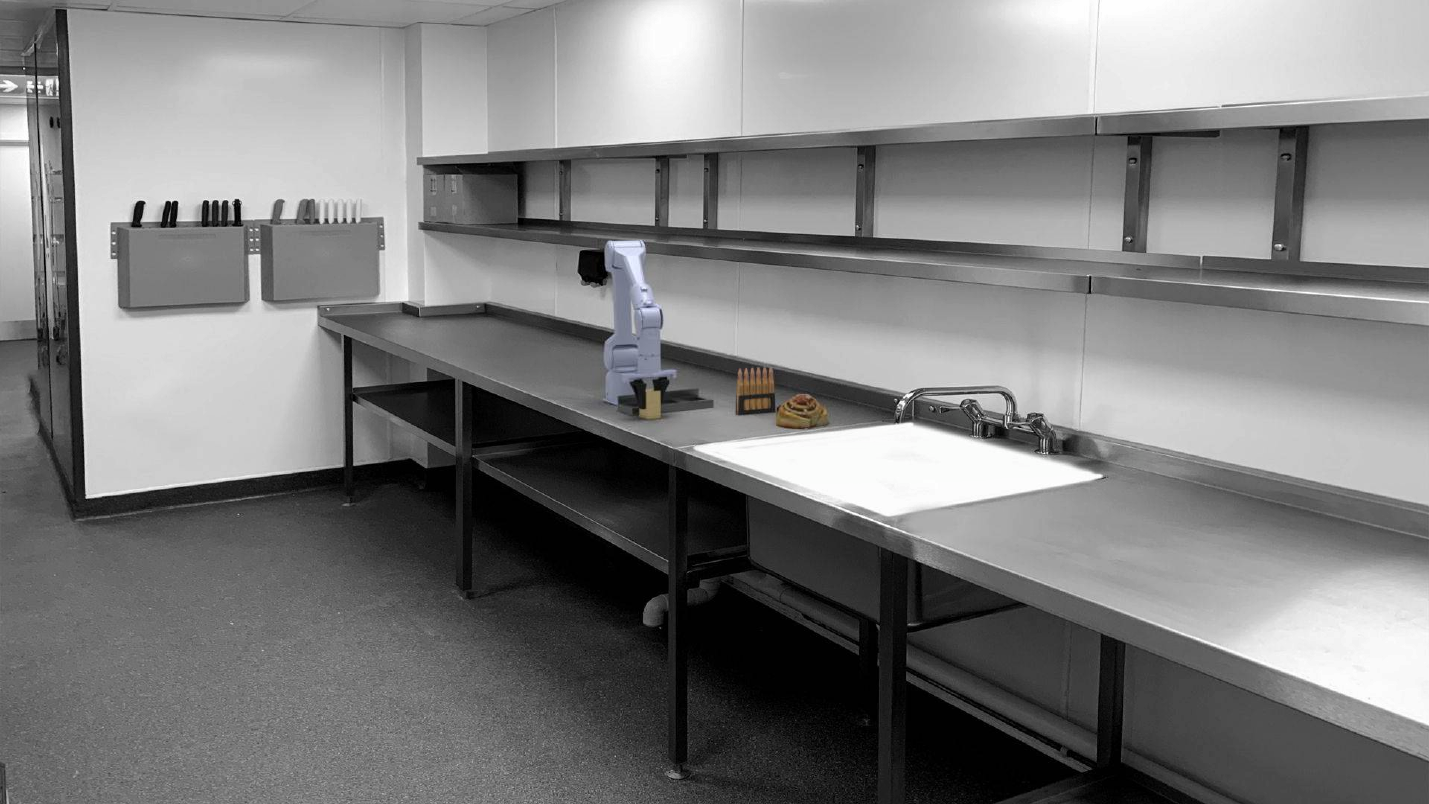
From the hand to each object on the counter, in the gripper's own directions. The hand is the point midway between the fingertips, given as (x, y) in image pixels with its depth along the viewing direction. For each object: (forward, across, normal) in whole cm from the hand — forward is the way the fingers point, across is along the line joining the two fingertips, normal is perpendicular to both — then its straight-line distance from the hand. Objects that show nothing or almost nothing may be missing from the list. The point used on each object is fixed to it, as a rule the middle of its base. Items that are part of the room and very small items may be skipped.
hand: (649, 408), depth 305 cm
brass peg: (+2, 0, 0) cm, 2 cm away
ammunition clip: (+3, +26, -9) cm, 28 cm away
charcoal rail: (+2, +9, +8) cm, 12 cm away
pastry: (+3, +28, -26) cm, 39 cm away
